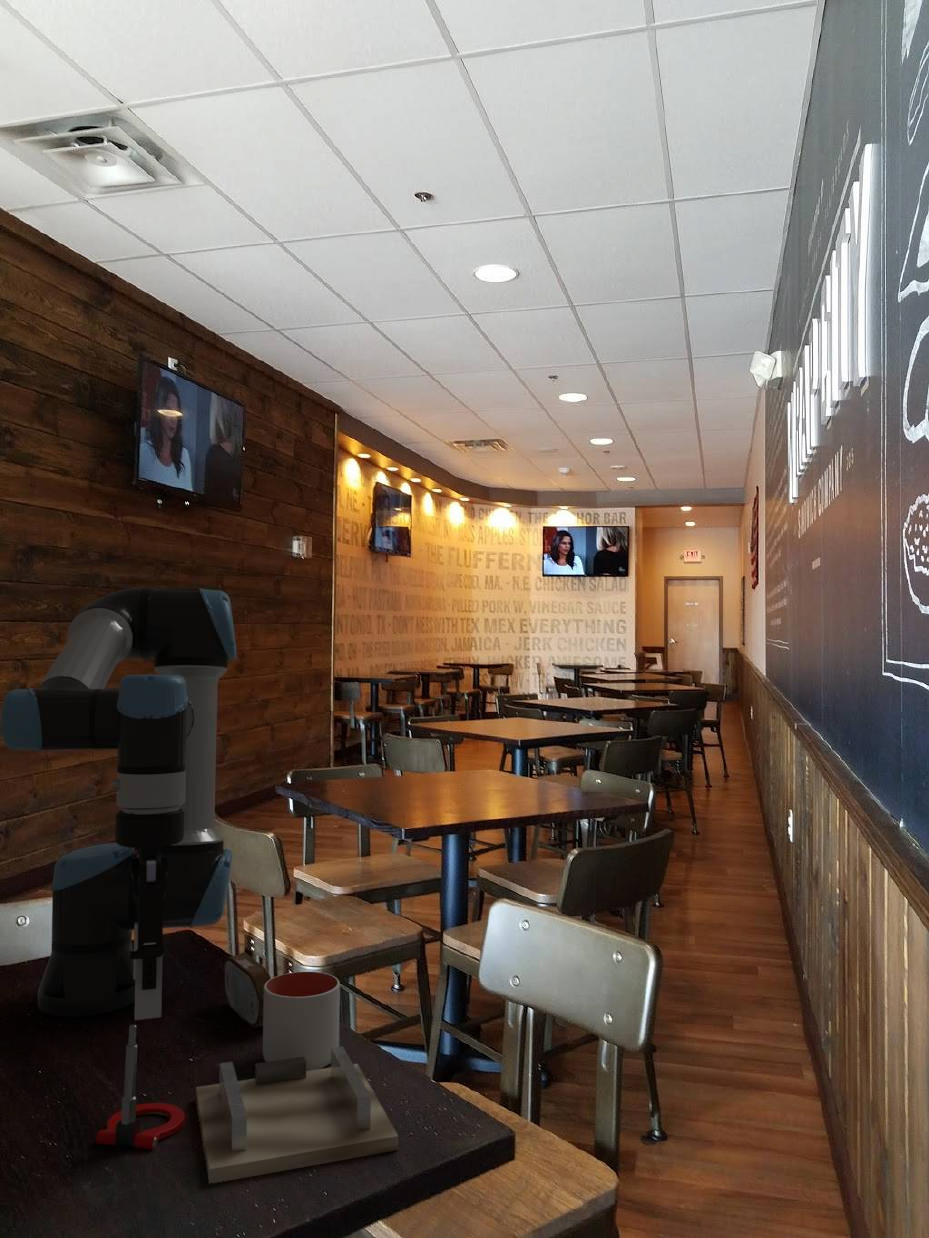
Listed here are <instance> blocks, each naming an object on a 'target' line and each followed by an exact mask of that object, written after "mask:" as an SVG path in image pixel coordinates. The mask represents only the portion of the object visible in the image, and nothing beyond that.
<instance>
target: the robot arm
mask: <svg viewBox="0 0 929 1238" xmlns="http://www.w3.org/2000/svg"><path fill="white" fill-rule="evenodd" d="M66 639H67V641H66V643H65V645H64V646H63V648H62V650H61V651H60V653H59V654H58V655H57V657H56V659H55V660H54V662H53V663H52V665H51V667H50V668H49V670H48V671H47V673H46V675H45V676H44V678H43V679H42V681H41V682H40V684H39V686H37V688H33V687H27V688H19V689H13V690H10V691H8V693H6V695H5V697H4V699H3V702H2V706H1V708H0V734H1V738H2V742H3V744H4V745H5V746H6V747H7V748H9V749H10V750H12V751H13V750H15V751H16V750H17V751H19V750H20V751H35V752H36V753H37V752H43V751H44V752H45V751H80V750H81V751H82V750H89V751H90V750H98V751H99V750H117V767H116V771H117V774H116V777H117V778H118V779H117V780H111V783H110V788H111V789H113V790H117V791H116V806H117V807H118V808H120V809H121V810H119V811H117V813H116V814H115V823H114V824H115V826H114V827H115V829H114V832H115V835H114V840H115V842H109V843H103V844H97V845H90V846H87V847H84V848H80V849H76V850H73V851H70V852H68V853H66V854H64V855H62V856H61V857H59V859H58V860H57V861H56V862H55V864H54V868H53V869H54V870H53V880H52V885H51V888H50V889H51V891H52V901H51V902H52V903H51V905H52V906H51V911H52V912H51V952H50V956H49V959H48V961H47V965H46V967H45V970H44V973H43V976H42V979H41V981H40V985H39V987H38V989H37V990H38V991H37V1008H38V1010H39V1011H41V1012H42V1013H45V1014H47V1015H50V1016H54V1017H55V1016H56V1017H62V1018H63V1017H68V1018H69V1017H70V1018H75V1017H76V1018H77V1017H78V1018H79V1017H91V1016H96V1015H97V1016H98V1015H102V1014H107V1013H111V1012H115V1011H117V1010H121V1009H124V1008H127V1007H128V1006H130V1005H132V1004H134V1021H140V1020H148V1019H157V1018H162V1004H163V1003H162V1001H163V999H162V998H163V995H162V994H163V992H162V991H163V958H164V957H163V954H164V952H165V947H164V946H163V945H164V944H163V937H164V935H163V933H164V931H163V929H169V928H170V929H171V928H173V929H174V928H189V929H193V928H195V927H196V928H197V927H205V926H212V925H215V924H218V923H219V922H220V921H221V919H222V917H223V915H224V911H225V907H226V902H227V895H228V889H229V888H228V887H229V882H230V876H231V875H230V874H231V869H232V860H233V850H231V849H228V848H225V849H224V841H225V839H224V837H223V836H222V835H221V834H220V833H219V832H218V831H217V830H216V828H215V817H216V816H215V814H216V811H215V809H216V808H215V807H216V773H217V772H216V769H217V768H216V765H217V731H218V730H217V726H218V725H217V722H218V721H217V720H218V683H219V680H220V679H221V677H223V676H224V675H225V674H226V673H227V672H228V667H229V666H228V665H229V664H228V662H229V661H233V660H236V659H237V656H238V655H237V654H238V653H237V646H236V645H237V644H236V636H235V627H234V619H233V611H232V605H231V599H230V597H229V595H228V594H227V593H226V592H225V591H223V590H218V589H217V590H216V589H215V590H214V589H206V588H205V589H204V588H201V587H199V588H160V587H158V588H157V587H156V588H155V587H154V588H151V587H150V588H149V587H147V588H145V587H130V588H125V589H121V590H117V591H114V592H111V593H109V594H106V595H104V596H102V597H100V598H98V599H96V600H94V601H92V602H91V603H89V604H88V605H86V606H85V607H83V608H81V610H80V611H78V613H77V614H76V615H75V617H74V618H73V619H72V621H71V622H70V624H69V626H68V629H67V633H66ZM125 659H127V660H129V659H131V660H132V659H133V660H134V659H135V660H136V659H137V660H138V659H139V660H140V659H142V660H154V661H153V665H154V666H153V670H154V672H155V673H157V674H127V675H124V676H123V677H122V678H121V680H120V682H119V685H118V686H119V688H109V689H107V688H106V686H107V684H108V681H109V680H110V677H111V676H112V674H113V671H114V669H115V667H116V665H118V664H119V663H121V662H122V661H124V660H125ZM135 849H136V850H137V852H135V851H136V850H135ZM132 931H133V932H134V933H133V932H132ZM132 933H133V934H134V935H133V936H132ZM132 937H133V939H134V940H133V939H132ZM132 940H133V944H132Z"/></svg>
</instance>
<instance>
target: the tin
mask: <svg viewBox="0 0 929 1238" xmlns="http://www.w3.org/2000/svg"><path fill="white" fill-rule="evenodd" d="M223 977H224V978H223V979H224V993H225V994H224V995H225V997H226V1000H227V1003H228V1005H229V1007H230V1008H231V1007H232V1009H234V1011H235V1012H236V1013H237V1014H239V1015H240V1016H241V1017H242V1018H243V1019H244V1020H245V1021H246V1022H247V1023H248V1024H250V1025H251V1026H252V1027H253V1028H252V1027H251V1028H252V1029H259V1028H263V1006H264V985H265V983H266V982H267V981H269V980H270V979H272V978H271V976H270V973H269V971H268V970H267V969H266V967H264V966H263V965H262V964H261V963H260V962H258V961H257V960H255V958H253V957H252V956H250V955H249V954H248V953H246V952H244V951H243V952H241V953H239V954H235V955H232V956H231V955H230V956H228V957H227V958H226V959H225V961H224V963H223ZM232 1009H231V1010H232ZM234 1011H233V1012H234ZM235 1012H234V1013H235ZM236 1013H235V1014H236ZM237 1014H236V1015H237ZM241 1017H240V1018H241ZM242 1018H241V1019H242ZM243 1019H242V1020H243ZM244 1020H243V1021H244ZM245 1021H244V1022H245ZM246 1022H245V1023H246ZM247 1023H246V1024H247ZM248 1024H247V1025H248Z"/></svg>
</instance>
